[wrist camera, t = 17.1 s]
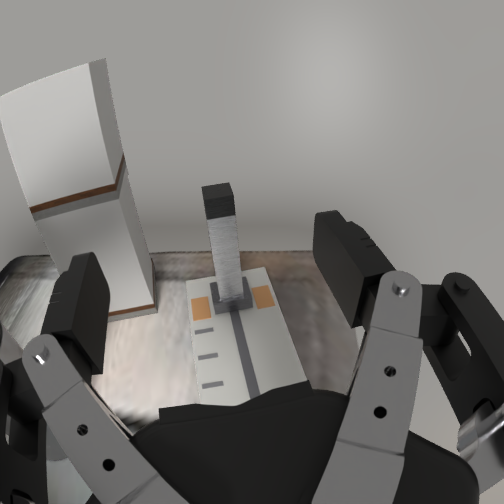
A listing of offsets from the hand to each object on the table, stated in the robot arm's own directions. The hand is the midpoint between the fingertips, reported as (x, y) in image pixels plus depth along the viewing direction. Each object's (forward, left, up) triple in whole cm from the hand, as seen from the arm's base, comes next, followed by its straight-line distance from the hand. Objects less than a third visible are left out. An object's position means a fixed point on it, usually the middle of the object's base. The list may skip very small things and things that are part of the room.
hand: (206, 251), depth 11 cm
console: (+2, +13, -28) cm, 31 cm away
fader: (+2, +21, -25) cm, 33 cm away
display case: (-15, +29, -28) cm, 43 cm away
